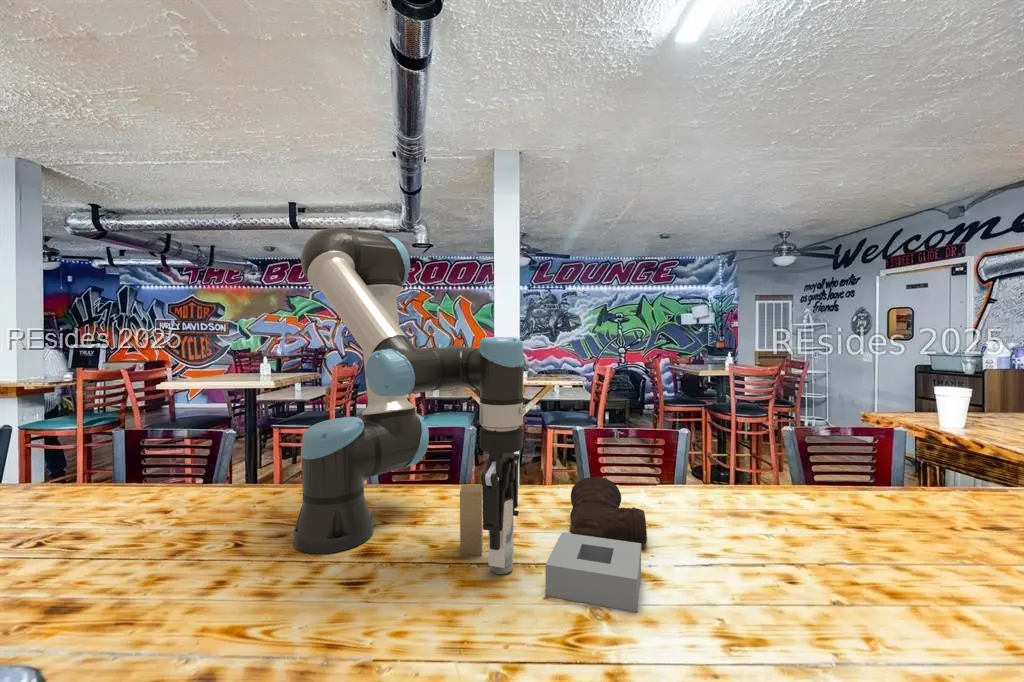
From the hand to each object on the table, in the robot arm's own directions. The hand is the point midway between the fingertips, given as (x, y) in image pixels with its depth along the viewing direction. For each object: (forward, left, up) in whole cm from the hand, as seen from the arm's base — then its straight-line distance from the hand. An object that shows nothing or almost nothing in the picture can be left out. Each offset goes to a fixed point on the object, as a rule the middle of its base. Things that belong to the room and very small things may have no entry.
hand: (501, 558), depth 81 cm
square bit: (-8, +5, -2) cm, 9 cm away
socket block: (+16, +1, -2) cm, 16 cm away
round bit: (0, 0, -2) cm, 2 cm away
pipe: (+16, +21, -2) cm, 26 cm away
